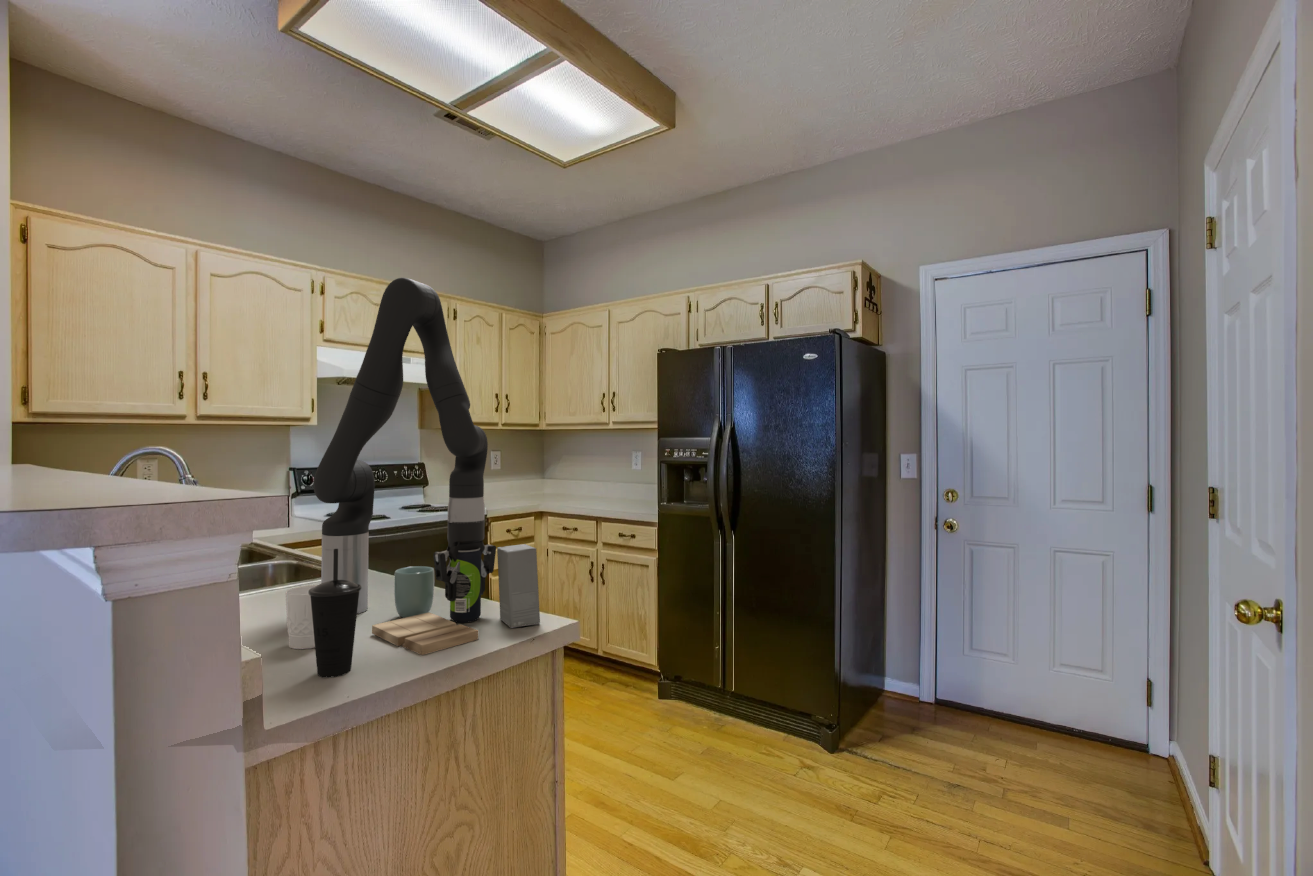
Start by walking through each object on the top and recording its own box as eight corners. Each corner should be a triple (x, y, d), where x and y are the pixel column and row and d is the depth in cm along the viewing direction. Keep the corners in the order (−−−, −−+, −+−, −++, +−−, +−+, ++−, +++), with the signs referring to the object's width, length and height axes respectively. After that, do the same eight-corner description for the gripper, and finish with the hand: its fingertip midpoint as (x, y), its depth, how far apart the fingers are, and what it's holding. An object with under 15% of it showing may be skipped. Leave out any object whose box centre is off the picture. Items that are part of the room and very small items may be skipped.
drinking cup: (320, 664, 103) (322, 545, 103) (367, 663, 104) (369, 544, 104) (297, 681, 96) (299, 553, 96) (348, 680, 96) (350, 553, 97)
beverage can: (486, 619, 130) (487, 548, 131) (460, 625, 126) (460, 552, 126) (470, 613, 135) (471, 545, 135) (444, 619, 130) (445, 548, 130)
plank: (371, 633, 119) (372, 624, 119) (429, 620, 128) (429, 612, 128) (397, 646, 112) (398, 637, 112) (456, 631, 122) (456, 622, 122)
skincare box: (540, 625, 126) (541, 548, 127) (506, 630, 123) (507, 550, 123) (528, 614, 134) (528, 542, 134) (495, 619, 130) (496, 544, 131)
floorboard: (401, 646, 113) (401, 636, 113) (457, 631, 121) (457, 623, 121) (422, 655, 108) (422, 645, 108) (478, 639, 117) (478, 630, 117)
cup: (419, 622, 127) (420, 574, 127) (386, 620, 129) (387, 572, 129) (440, 612, 135) (440, 567, 135) (408, 610, 137) (409, 565, 137)
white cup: (326, 634, 119) (326, 582, 119) (339, 643, 114) (340, 589, 114) (279, 643, 114) (280, 589, 114) (291, 653, 108) (292, 597, 108)
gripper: (484, 514, 138) (483, 588, 138) (425, 519, 127) (424, 601, 127) (505, 516, 133) (504, 594, 133) (445, 523, 122) (444, 607, 122)
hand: (465, 597), depth 130 cm, fingers closed on beverage can, 6 cm apart
